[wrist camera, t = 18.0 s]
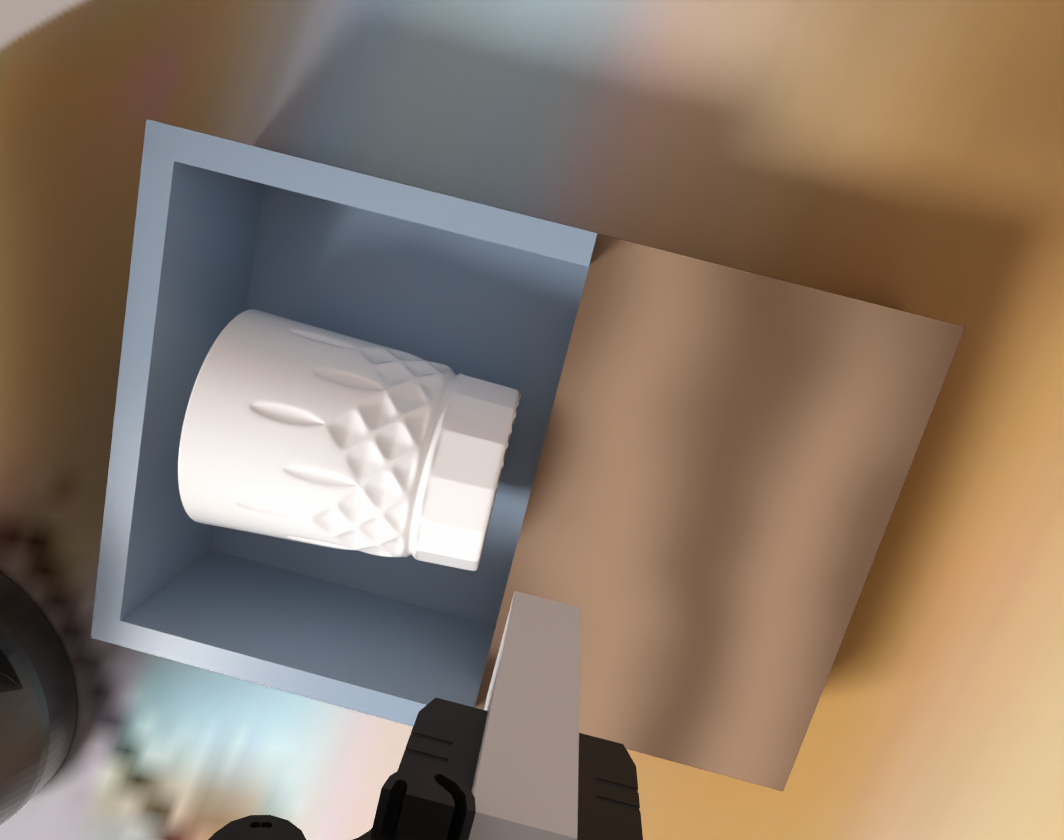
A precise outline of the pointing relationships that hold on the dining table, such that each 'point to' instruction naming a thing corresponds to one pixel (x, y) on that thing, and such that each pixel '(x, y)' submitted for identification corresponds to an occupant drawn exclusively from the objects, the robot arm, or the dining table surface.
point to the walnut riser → (718, 498)
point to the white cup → (342, 443)
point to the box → (351, 309)
